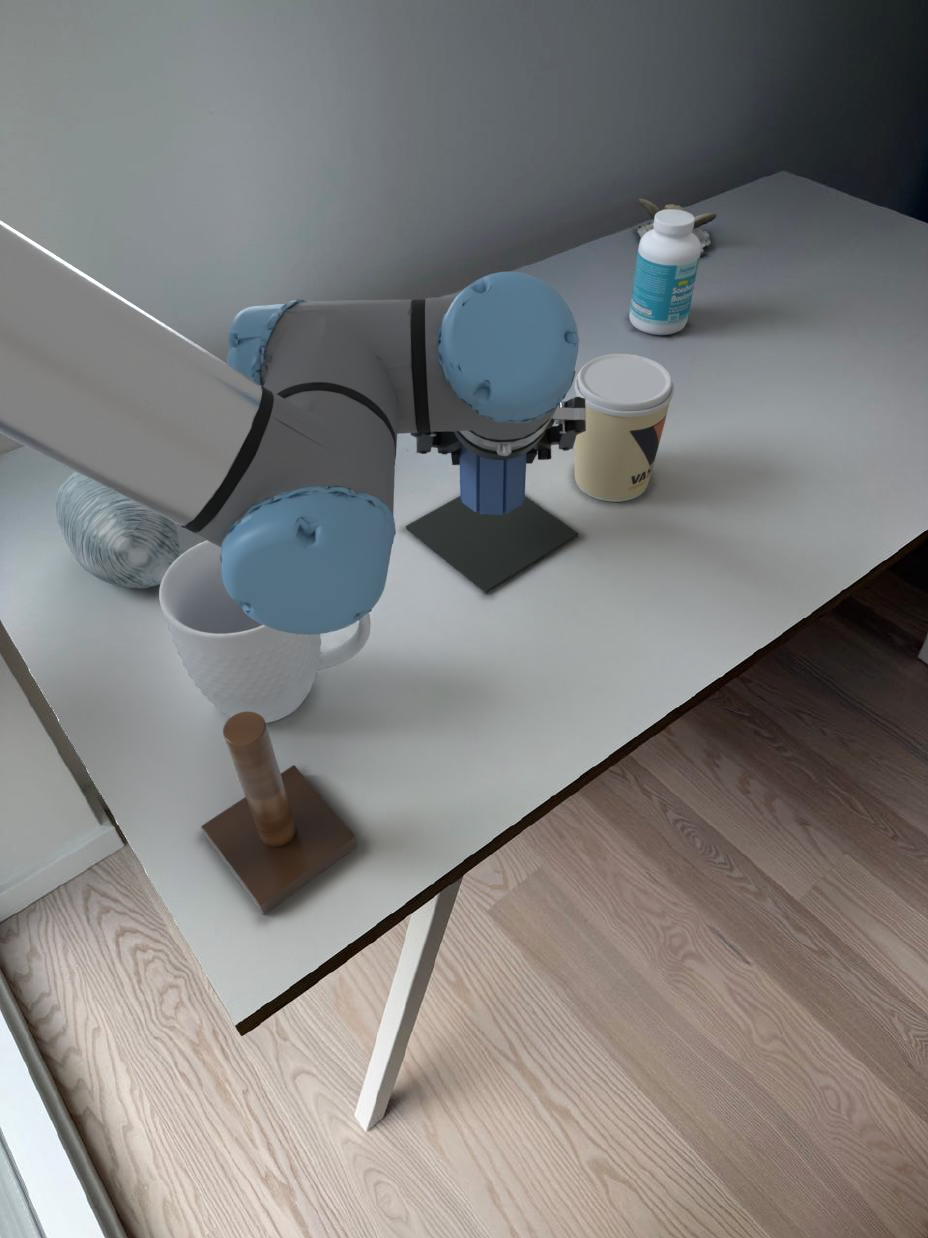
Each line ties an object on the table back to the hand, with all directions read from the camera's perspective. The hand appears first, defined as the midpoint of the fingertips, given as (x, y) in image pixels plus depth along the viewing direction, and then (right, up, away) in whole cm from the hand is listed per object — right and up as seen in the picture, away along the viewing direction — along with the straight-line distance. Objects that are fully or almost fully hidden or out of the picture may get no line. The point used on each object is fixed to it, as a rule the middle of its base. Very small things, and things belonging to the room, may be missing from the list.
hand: (491, 449), depth 85 cm
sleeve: (0, -4, -1) cm, 4 cm away
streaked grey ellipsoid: (-35, -10, +1) cm, 36 cm away
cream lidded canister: (+13, -2, +9) cm, 15 cm away
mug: (-18, -22, -10) cm, 30 cm away
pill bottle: (+22, +22, +30) cm, 43 cm away
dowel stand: (-16, -32, -20) cm, 41 cm away
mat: (0, -8, +3) cm, 8 cm away
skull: (+28, +39, +46) cm, 67 cm away
